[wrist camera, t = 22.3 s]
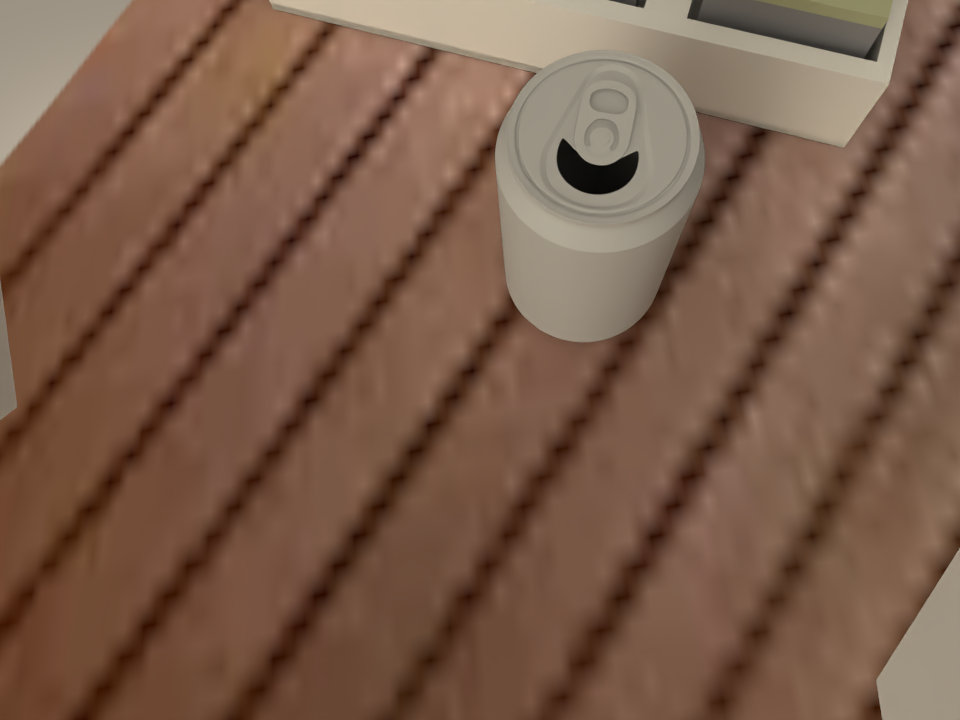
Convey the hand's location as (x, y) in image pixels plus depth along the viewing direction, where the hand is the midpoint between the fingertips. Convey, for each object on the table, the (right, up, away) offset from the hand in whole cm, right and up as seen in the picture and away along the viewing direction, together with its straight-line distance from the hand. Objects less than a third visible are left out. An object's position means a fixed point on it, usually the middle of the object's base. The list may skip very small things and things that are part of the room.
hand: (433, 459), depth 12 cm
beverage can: (+5, +5, +26) cm, 27 cm away
